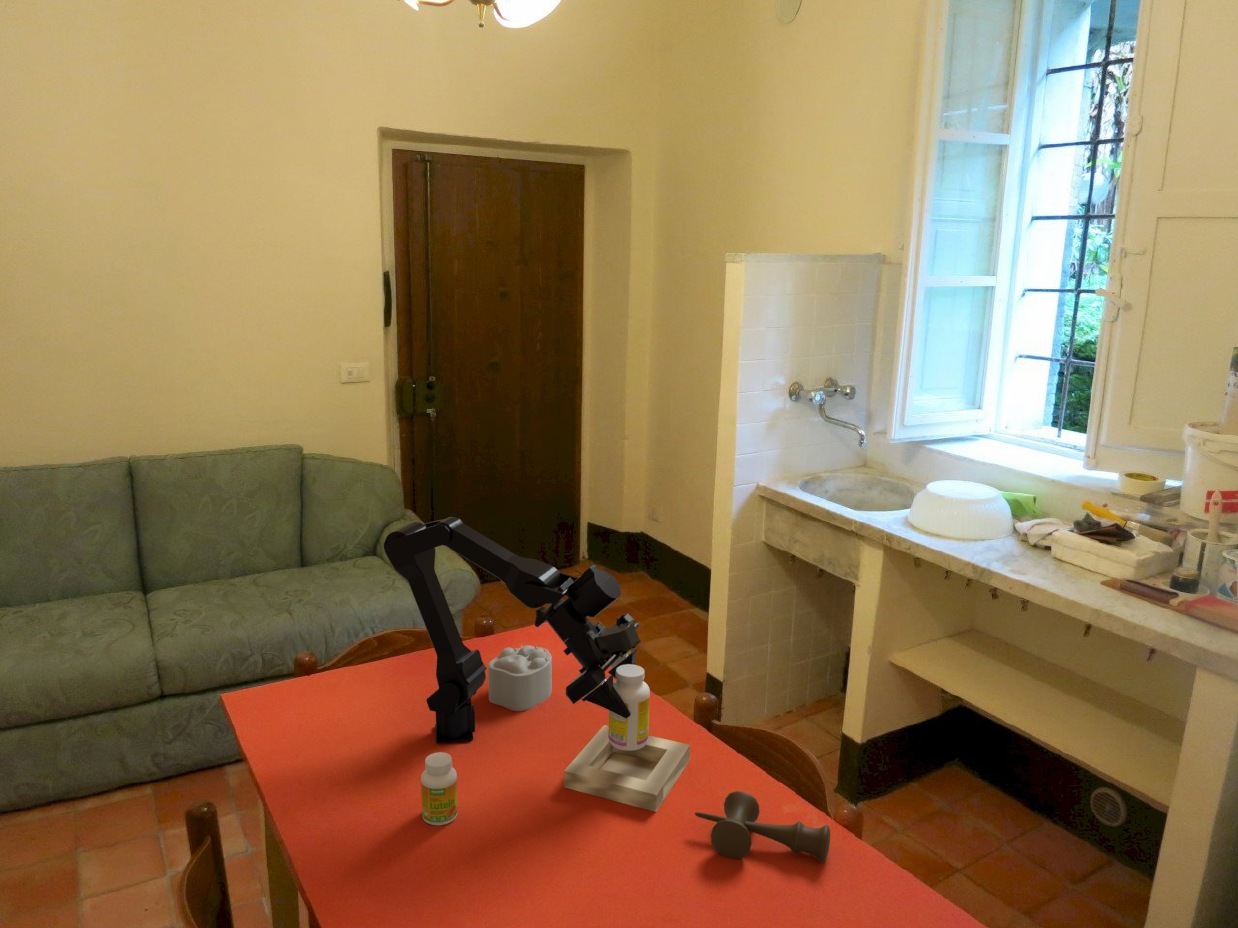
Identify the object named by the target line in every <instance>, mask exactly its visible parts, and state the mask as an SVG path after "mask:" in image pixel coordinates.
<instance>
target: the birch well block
mask: <svg viewBox="0 0 1238 928" xmlns="http://www.w3.org/2000/svg"><path fill="white" fill-rule="evenodd" d="M608 726H609V725H606V724H604V725H603V726H602V727H601V728H600V729H599V730H598V731H597V732H596V734H595V735H594V736H593V737H592V738H591V739H590V741H589V742H588V743H587V744H586V745H585V746H584V748H583V749H581V750H580V752H579V753H578V754H577V756H575V758H574V759H573V760H572V761H571V762H570V763H569V765H568V766H566V768H565V769H564V771H563V788H566V789H569V790H573V791H577V792H580V793H584V794H588V795H592V796H594V797H599V798H603V799H606V800H611V801H613V802H616V803H617V802H618V803H620V804H624V805H629V806H632V807H636V808H640V809H644V810H647V811H651V812H655V813H657V812H658V810H659V809H660V807H661V805H662V804H663V803H664V801H665V799H666V798H667V796H668V795H669V793H670V792H671V790H672V788H673V787H674V786H675V784H676V782H677V781H678V779H679V777H680V776H681V775H682V773H683V771H684V770H685V768H686V767H687V765H688V763H689V762H690V758H691V757H690V755H691V744H687V743H684V742H678V741H674V740H670V739H666V738H662V737H658V736H653V735H649V734H648V742H647V744H646V745H645V746H644V747H642V748H641V749H638V750H631V751H627V750H620V749H617V748H615V747H614V746H612V745H611V743H610V742H609V739H608Z"/></svg>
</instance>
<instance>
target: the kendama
mask: <svg viewBox="0 0 1238 928" xmlns="http://www.w3.org/2000/svg"><path fill="white" fill-rule="evenodd" d="M723 809H724V814H725V816H722V815H716V814H710V813H706V812H701V811H700V812H699V811H697V812H694V815H695V817H698V818H700V819H702V820H703V819H704V820H707V821H711V822H714V823H715V824H714V825H713V826H712V829H711V834H710V843H711V846H712V848H713V849H714V851H715V852H716V853H718V854H719V855H721V856H722V857H725V858H729V859H735V860H740V859H742V858H745V857H746V856H747V855H748V854H749V853H750V851H751V847H752V836H751V834H750V833H753V834H757V835H758V836H759V835H760V836H762V837H764V838H767V839H770V840H773V841H775V842H777V843H780V844H782V845H784V846H786V847H787V848H789V849H790V851H791V852H792V853H793V854H795V855H796V854H798V853H805V854H809V855H811V856H813V857H814V858H816V860H817V861H818V862H819V863H821V864H823V863H825V862H826V860H827V859H828V855H829V851H830V846H831V845H830V844H831V830H830V826H829V825H828V824H826V825H825V824H824V825H823V826H821V827H817V828H815V827H810V826H806V825H804V824H803V823H802V822H801V821H797V822H795V823H794V824H785V825H784V824H771V823H763V822H757V820H758V819H759V816H760V805H759V803H758V801H757V798H755V797H754V796H753V795H751V794H750V793H748V792H745V791H741V790H740V791H738V790H736V791H733V792H730V793H728V795H727V796H726V797H725V799H724V802H723Z"/></svg>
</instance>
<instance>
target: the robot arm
mask: <svg viewBox="0 0 1238 928" xmlns="http://www.w3.org/2000/svg"><path fill="white" fill-rule="evenodd" d="M441 546H444V547H445V546H446V548H448V549H450V550H452V551H453V552H454V553H456V554H458V555H460V556H462V557H463V558H464V559H466V560H468V561H469V562H471V563H473V564H475V565H476V566H478V567H479V568H482V569H483V570H485V571H486V572H488V573H489V574H491V575H493V576H494V577H495V578H498V579H499V580H500V581H501V582H503V583H504V584H505V586H506V588H507V590H508V591H509V593H510V594H511V595H512V596H513V597H515V598H516V599H517V600H518V601H519V602H520V603H522V604H523V605H524V606H526V607H527V608H530V609H534V610H535V609H536V610H535V615H536V616H535V623H534V626H535V627H536V628H539V627H540V626H542V625H543V624H544V623H545V622H547V624H548V625H549V626H550V628H551V629H552V630H553V631H554V633H555V634H556V635H557V636H558V637H559V639H560V641H562V643H563V644H564V645H565V646H566V647H565V649H564V650H563V652H564V654H565V655H566V656H569V655H570V654H572V655H573V657H574V658H575V659H576V661H577V662H578V663H579V664H580V666H581V668H580V669H579V670H578V672H579V673H580V674H579V675H578V676H576V677H575V678H574V679H573V680H572V681H571V682H570V683H569V684H568V685H567V686H566V687H565V696H566V697H567V698H568V700H569V701H570V702H571V703H572V705H575V704H576V703H577V702H579V701H580V700H581V701H582V702H583V703H584V702H586V701H587V702H589V703H592V704H594V705H596V706H599V707H602V708H603V709H606V710H607V711H609V710H610V711H612V712H614V713H616V714H618V715H620V716H622V717H624V718H628V717H629V716H630V715H631V713H630V712H629V710H628V708H627V706H626V705H625V703H624V702H623V700H622V699H621V697H620V696H619V694H618V693H617V692H616V690H615V689H614V687H613V682H614V679H615V680H617V679H616V677H615V675H616V669H617V668H618V667H619V666H621V665H626V664H632V665H637V664H636V659H637V654H638V650H639V649H638V648H636V647H637V646H638V645H639V644H641V642H642V640H641V638H640V636H639V633H638V631H637V630H638V629H639V627H640V625H639V623H638V622H636V621H635V619H634V618H633V616H631V615H630V614H629V613H624V614H620V615H618V617H617V618H616V620H615V621H616V623H615V624H613V625H611V626H610V627H605V626H604V625H603V623H601V622H599V621H598V622H596V623H595V624H594V623H593V621H591V619H590V618H595V617H597V616H598V615H599V614H601V612H603V611H604V610H605V609H607V608H608V607H609V606H610V605H612V604H613V603H614V602H615V601H616V600H618V599H619V598H620V597H621V595H622V590H621V589H622V588H621V587H620V584H619V582H618V580H616V577H614V576H613V575H612V574H610V573H609V572H608V571H605V570H603V569H599V568H598V567H597V566H596V564H591V566H589V567H588V568H587V569H586V570H584V571H583V573H582V575H580V576H579V577H578V576H575V575H571V574H568V573H565V572H562V571H559V569H557V568H556V567H554V566H553V565H551V564H549V563H546V562H544V561H541V560H538V559H535V558H532V557H531V558H530V557H529V558H528V557H523V556H520V555H518V554H515V553H514V552H512V551H510V550H509V549H507V548H506V547H503V546H502V545H501V544H499V543H497V542H495V541H494V540H492V539H490V538H488V537H487V536H485V535H483V534H482V533H480V532H479V531H477V530H475V529H474V528H472V527H470V526H469V525H467V524H465V523H464V522H463V520H462V519H460V518H458V517H457V516H449V517H447V518H445V519H444V518H443V519H439V520H434V521H430V522H427V523H421V522H419V521H411V522H409V523H407V524H406V525H403V526H401V527H400V528H398V529H395V530H393V531H391V532H390V533H388V535H387V536H386V538H385V540H384V541H383V550H384V553H385V555H386V557H387V560H388V561H389V562H390V564H391V566H392V568H393V569H394V570H395V572H397V573H398V574H399V575H400V576H402V577H403V578H404V579H405V580H406V582H407V583H408V585H409V587H410V591H411V593H412V596H413V598H414V600H415V604H416V606H417V608H418V611H419V612H420V616H421V618H422V621H423V624H424V627H425V629H426V631H427V635H428V636H429V639H430V641H431V644H432V646H433V650H434V652H435V654H436V655H435V656H436V665H435V667H436V668H435V676H436V677H435V678H436V681H437V685H438V689H437V690H435V691H434V692H433V693H432V694H431V695H430V696H429V697H427V698H426V704H427V707H428V710H429V711H431V712H435V724H434V729H435V731H434V733H435V744H438V745H439V744H448V743H459V742H469V741H473V740H474V734H473V733H475V732H476V711H475V705H474V704H473V703H472V697H473V696H474V695H476V694H477V691H478V690H479V689H481V687H483V686H484V683H485V681H486V679H487V676H486V671H487V670H488V666H486V665H485V664H484V662H483V660H482V656H481V652H480V650H479V649H478V648H476V649H474V650H471V649H470V648H469V647H467V646H466V645H465V644H464V642H463V639H462V637H461V634H460V632H459V630H458V627H457V624H456V621H455V619H454V616H453V614H452V612H451V611H452V610H450V606H449V604H448V601H447V599H446V596H445V594H444V591H443V587H442V585H441V583H440V581H439V578H438V575H437V573H436V570H435V569H436V568H435V563H436V548H437V547H441ZM564 597H567V599H564ZM545 605H548V606H547V607H546V606H545ZM632 649H634V650H633V651H631V650H632ZM610 667H611V668H610ZM609 668H610V669H609ZM608 669H609V671H607V670H608ZM606 671H607V673H608V674H609V675H610V676H608V677H607V675H606V673H605V672H606Z"/></svg>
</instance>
